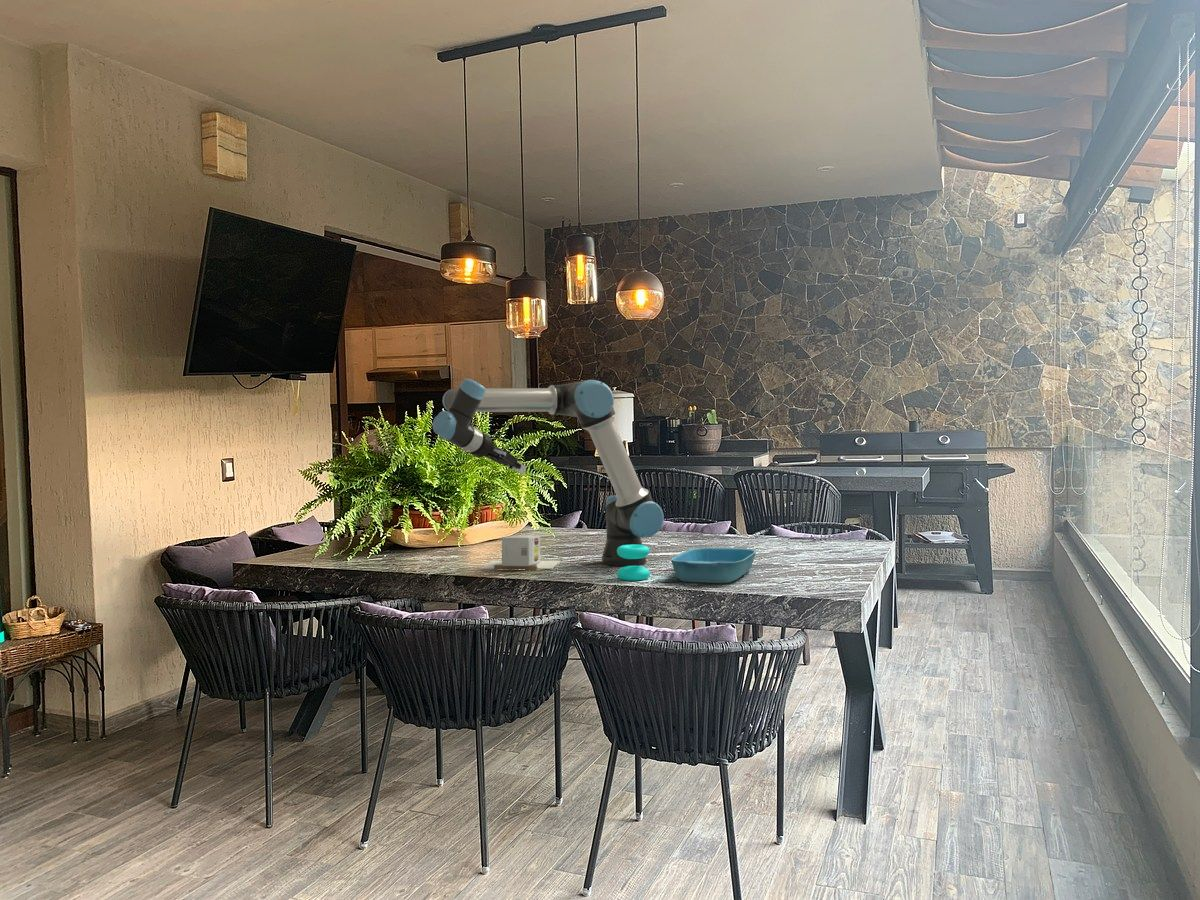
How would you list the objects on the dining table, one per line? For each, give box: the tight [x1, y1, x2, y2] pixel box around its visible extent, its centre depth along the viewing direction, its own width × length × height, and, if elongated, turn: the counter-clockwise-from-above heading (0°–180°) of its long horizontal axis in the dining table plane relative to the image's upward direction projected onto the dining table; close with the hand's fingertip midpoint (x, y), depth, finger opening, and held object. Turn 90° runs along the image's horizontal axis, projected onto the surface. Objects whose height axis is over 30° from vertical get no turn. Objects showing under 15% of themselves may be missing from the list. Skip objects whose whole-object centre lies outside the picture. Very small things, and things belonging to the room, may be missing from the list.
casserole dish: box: [670, 546, 757, 584], centre depth 290 cm, size 37×22×7 cm, turn 160°
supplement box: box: [501, 535, 541, 566], centre depth 312 cm, size 10×9×17 cm
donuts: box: [616, 544, 651, 582], centre depth 287 cm, size 10×10×10 cm
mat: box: [480, 560, 561, 571], centre depth 315 cm, size 24×17×2 cm
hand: (523, 470), depth 304 cm, fingers closed
